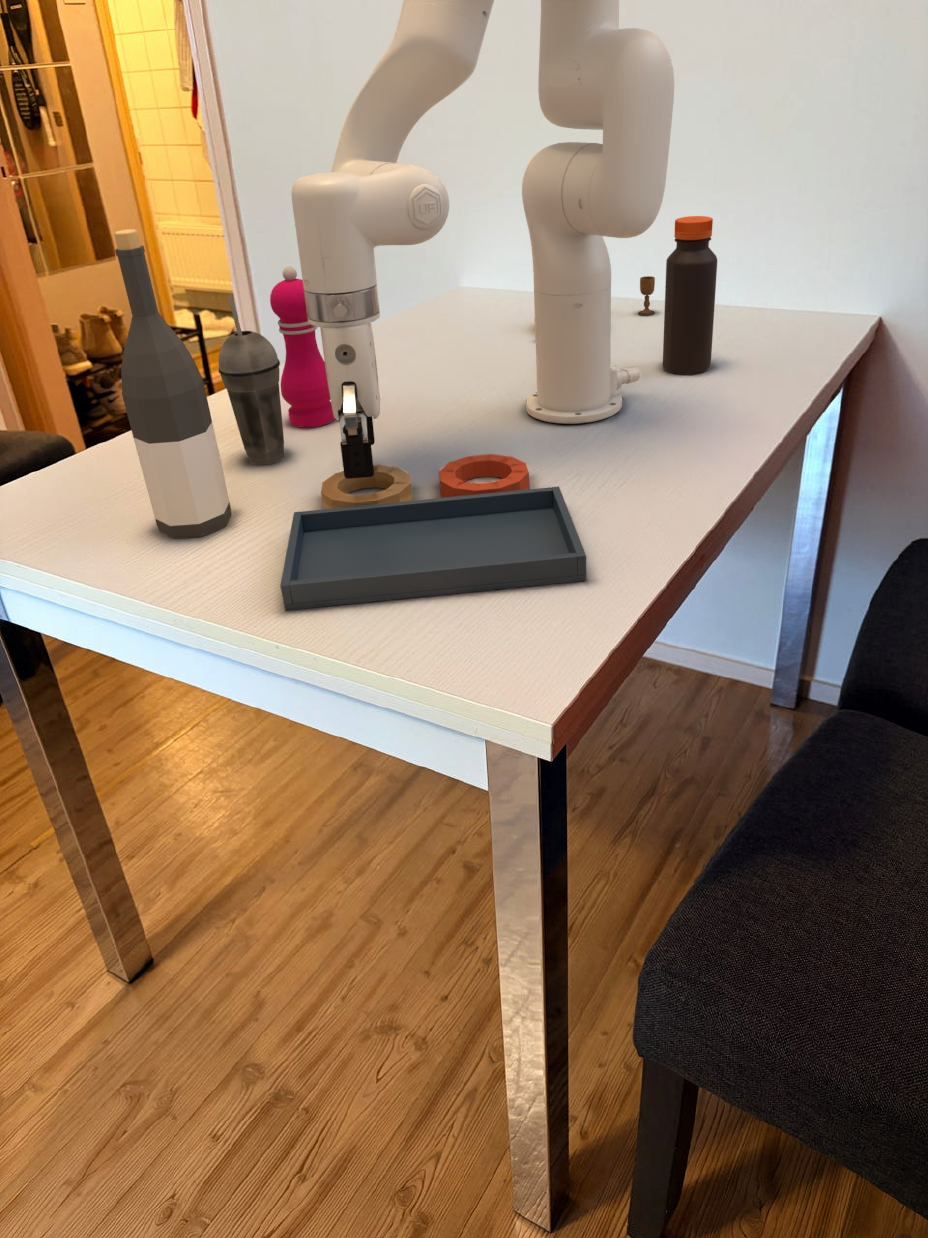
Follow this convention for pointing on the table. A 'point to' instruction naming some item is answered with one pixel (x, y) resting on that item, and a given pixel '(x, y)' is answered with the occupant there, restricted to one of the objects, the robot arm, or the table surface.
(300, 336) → the pepper mill
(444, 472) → the terracotta ring
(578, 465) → the table surface
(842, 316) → the table surface
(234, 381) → the beverage cup
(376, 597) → the tray
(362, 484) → the birch ring
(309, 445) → the table surface
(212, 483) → the wine bottle
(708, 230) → the vinegar
